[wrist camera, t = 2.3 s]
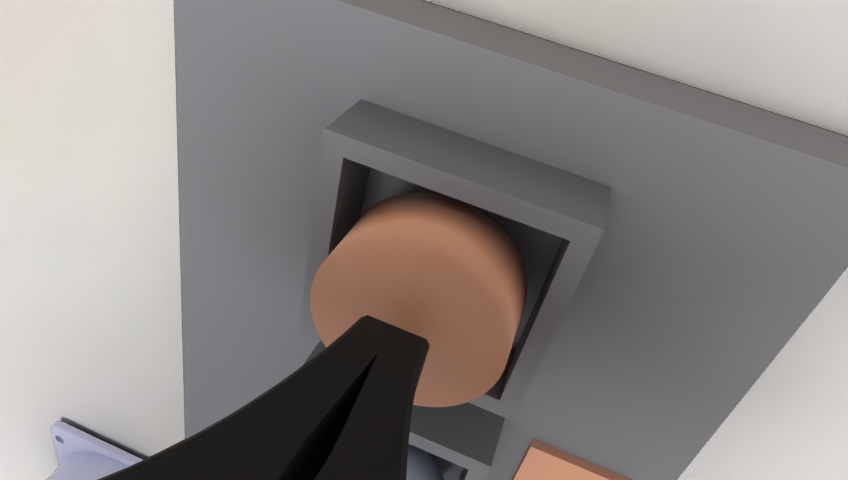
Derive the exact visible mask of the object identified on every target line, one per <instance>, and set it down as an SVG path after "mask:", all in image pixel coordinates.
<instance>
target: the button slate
mask: <svg viewBox="0 0 848 480" xmlns="http://www.w3.org/2000/svg"><path fill="white" fill-rule="evenodd" d="M406 480H444V478H443V475H442V473H441V471H440V469H439V467H438V465H437V464H436V462H435V461H434V460H433V458H432V457H431V456H430V455H429V454H428V453H427V452H426V451H424V450H422V449H420V448H417V447H415V446H413V445H410V444H408V456H407V476H406Z"/></svg>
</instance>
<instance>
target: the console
mask: <svg viewBox="0 0 848 480" xmlns="http://www.w3.org/2000/svg"><path fill="white" fill-rule="evenodd" d="M174 33H175V72H176V111H177V149H178V188H179V226H180V265H181V304H182V342H183V381H184V419H185V439H187V438H189V437H191V436H192V435H194V434H196V433H198V432H200V431H202V430H203V429H205V428H207V427H209V426H211V425H212V424H214V423H216V422H218V421H220V420H221V419H223V418H225V417H226V416H228V415H230V414H231V413H233V412H235V411H236V410H238V409H240V408H241V407H243V406H245V405H246V404H248V403H249V402H251V401H252V400H254V399H255V398H257V397H258V396H260V395H261V394H263V393H264V392H266V391H267V390H269V389H270V388H272V387H274V386H275V385H277V384H278V383H280V382H281V381H282V380H284V379H285V378H287V377H288V376H289V375H291V374H292V373H293V372H295V371H296V370H298V369H299V368H300V367H302V366H303V365H304V364H306V363H307V362H308V361H310V360H311V359H312V358H314V357H315V356H316V355H318V354H319V353H320V352H321V351H323V350H324V349H325V348H326V347H325V345H324V344H323V342H322V340H321V338H320V336H319V334H318V332H317V330H316V327H315V325H314V322H313V318H312V314H311V306H310V292H311V287H312V283H313V280H314V277H315V275H316V272H317V271H318V269H319V268H320V266H321V265H322V263H323V262H324V261H325V260H326V258H327V257H328V256H329V255H330V254H331V252H332V251H333V250H334V249H335V248H336V247H337V245H338V244H339V243H340V242H341V241H342V239H343V238H344V237H345V236H346V235H347V233H348V232H349V231H350V230H351V229H352V227H353V226H354V225H355V224H356V223H357V221H358V220H359V219H360V218H361V217H362V216H363V215H364V214H365V213H366V211H367V210H369V209H370V208H371V207H373V206H374V205H375V204H377V203H379V202H381V201H382V200H384V199H387V198H389V197H392V196H395V195H400V194H404V193H414V192H424V193H434V194H440V195H445V196H448V197H451V198H455V199H458V200H460V201H462V202H465V203H467V204H469V205H471V206H473V207H474V208H476V209H478V210H480V211H481V212H483V213H484V214H485V215H487V216H488V217H489V218H491V219H492V220H493V221H494V222H495V223H496V224H497V225H498V226H500V227H501V228H502V230H503V231H504V232H505V233H506V234H507V235H508V237H509V238H510V239H511V241H512V242H513V244H514V245H515V247H516V248H517V250H518V252H519V255H520V257H521V259H522V261H523V265H524V268H525V271H526V277H527V297H526V303H525V306H524V309H523V312H522V315H521V319H520V322H519V325H518V328H517V331H516V335H515V338H514V341H513V344H512V347H511V351H510V354H509V357H508V360H507V363H506V366H505V369H504V371H503V373H502V375H501V377H500V379H499V380H498V381H497V382H496V383H495V385H494V386H493V387H492V388H491V389H490V390H488V391H487V392H486V393H485V394H483V395H481V396H480V397H478V398H476V399H474V400H472V401H469V402H467V403H463V404H460V405H455V406H448V407H425V406H418V405H413V408H412V416H411V425H410V434H409V443H408V444H410V445H413V446H415V447H417V448H420V449H422V450H424V451H426V452H427V453H428V454H429V455H430V456H431V457H432V458H433V460H434V461H435V462H436V464H437V465H438V467H439V469H440V471H441V473H442V475H443V478H444V480H677V479H678V478H679V476H680V475H681V474H682V473H683V471H684V470H685V469H686V468H687V466H688V465H689V464H690V463H691V461H692V460H693V459H694V458H695V456H696V455H697V454H698V453H699V451H700V450H701V449H702V448H703V446H704V445H705V444H706V443H707V441H708V440H709V439H710V438H711V436H712V435H713V434H714V433H715V431H716V430H717V429H718V428H719V427H720V425H721V424H722V423H723V422H724V420H725V419H726V418H727V417H728V415H729V414H730V413H731V412H732V410H733V409H734V408H735V407H736V405H737V404H738V403H739V402H740V400H741V399H742V398H743V397H744V395H745V394H746V393H747V392H748V390H749V389H750V388H751V387H752V385H753V384H754V383H755V382H756V380H757V379H758V378H759V377H760V375H761V374H762V373H763V372H764V370H765V369H766V368H767V367H768V365H769V364H770V363H771V362H772V360H773V359H774V358H775V357H776V356H777V354H778V353H779V352H780V351H781V349H782V348H783V347H784V346H785V344H786V343H787V342H788V341H789V339H790V338H791V337H792V336H793V334H794V333H795V332H796V331H797V329H798V328H799V327H800V326H801V324H802V323H803V322H804V321H805V319H806V318H807V317H808V316H809V314H810V313H811V312H812V311H813V309H814V308H815V307H816V306H817V304H818V303H819V302H820V301H821V299H822V298H823V297H824V296H825V294H826V293H827V292H828V291H829V289H830V288H831V287H832V286H833V285H834V283H835V282H836V281H837V280H838V278H839V277H840V276H841V275H842V273H843V272H844V271H845V270H846V268H847V267H848V137H847V136H844V135H841V134H837V133H834V132H831V131H828V130H825V129H822V128H819V127H816V126H813V125H809V124H806V123H803V122H800V121H797V120H794V119H791V118H788V117H784V116H781V115H778V114H775V113H772V112H769V111H766V110H763V109H760V108H756V107H753V106H750V105H747V104H744V103H741V102H738V101H735V100H732V99H728V98H725V97H722V96H719V95H716V94H713V93H710V92H707V91H703V90H700V89H697V88H694V87H691V86H688V85H685V84H682V83H679V82H675V81H672V80H669V79H666V78H663V77H660V76H657V75H654V74H650V73H647V72H644V71H641V70H638V69H635V68H632V67H629V66H626V65H622V64H619V63H616V62H613V61H610V60H607V59H604V58H601V57H597V56H594V55H591V54H588V53H585V52H582V51H579V50H576V49H573V48H569V47H566V46H563V45H560V44H557V43H554V42H551V41H548V40H544V39H541V38H538V37H535V36H532V35H529V34H526V33H523V32H520V31H516V30H513V29H510V28H507V27H504V26H501V25H498V24H495V23H491V22H488V21H485V20H482V19H479V18H476V17H473V16H470V15H467V14H463V13H460V12H457V11H454V10H451V9H448V8H445V7H442V6H438V5H435V4H432V3H429V2H426V1H423V0H174Z"/></svg>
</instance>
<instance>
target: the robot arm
mask: <svg viewBox="0 0 848 480" xmlns="http://www.w3.org/2000/svg"><path fill="white" fill-rule="evenodd" d="M429 347H430V345H429V343H428V341H427V340H426V339H425V338H423V337H420V336H418V335H416V334H413V333H411V332H408V331H406V330H403V329H401V328H398V327H396V326H393V325H391V324H388V323H386V322H384V321H381V320H379V319H376V318H374V317H371V316H369V315H366V316H363V317H361V318H360V319H359V320H358V321H357V322H355V323H354V324H353V325H352V326H351V327H350V328H349V329H348V330H347V331H345V332H344V333H343V334H342V335H341V336H340V337H339V338H337V339H336V340H335V341H334V342H333V343H331V344H330V345H329V346H328V347H326V348H325V349H324V350H323V351H321V352H320V353H319V354H318V355H316V356H315V357H314V358H312V359H311V360H310V361H308V362H307V363H306V364H304V365H303V366H302V367H300V368H299V369H298V370H296V371H295V372H293V373H292V374H291V375H289V376H288V377H287V378H285V379H284V380H282V381H281V382H280V383H278V384H277V385H275V386H274V387H272V388H270V389H269V390H267V391H266V392H264V393H263V394H261V395H260V396H258V397H257V398H255V399H254V400H252V401H251V402H249V403H248V404H246V405H245V406H243V407H241V408H240V409H238V410H236V411H235V412H233V413H231V414H230V415H228V416H226V417H225V418H223V419H221V420H220V421H218V422H216V423H214V424H212V425H211V426H209V427H207V428H205V429H203V430H202V431H200V432H198V433H196V434H194V435H192V436H191V437H189V438H187V439H185V440H183V441H181V442H179V443H177V444H175V445H173V446H171V447H169V448H167V449H165V450H163V451H161V452H159V453H157V454H155V455H153V456H151V457H148V458H146V459H144V460H143V459H141V458H139V457H136V456H134V455H132V454H130V453H128V452H126V451H124V450H121V449H119V448H117V447H115V446H113V445H111V444H109V443H107V442H104V441H102V440H100V439H98V438H96V437H94V436H92V435H90V434H87V433H85V432H83V431H81V430H79V429H77V428H75V427H73V426H70V425H68V424H66V423H64V422H61V421H57V422H55V423H54V424H53V425H52V426H51V433H52V438H53V442H54V446H55V450H56V455H57V459H58V463H59V467H58V468H57V469H56V470H55V471H54V472H53V473H52V474H51V475H50V476H49V477H48V478H47V479H46V480H406V476H407V456H408V443H409V434H410V425H411V416H412V408H413V402H414V396H415V391H416V388H417V385H418V382H419V379H420V376H421V372H422V369H423V366H424V363H425V360H426V356H427V353H428V350H429Z"/></svg>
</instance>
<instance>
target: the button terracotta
mask: <svg viewBox="0 0 848 480" xmlns="http://www.w3.org/2000/svg"><path fill="white" fill-rule="evenodd" d="M526 297H527V277H526V271H525V268H524V265H523V261H522V259H521V257H520V255H519V252H518V250H517V248H516V247H515V245H514V244H513V242H512V241H511V239H510V238H509V237H508V235H507V234H506V233H505V232H504V231H503V230H502V228H501V227H500V226H498V225H497V224H496V223H495V222H494V221H493V220H492V219H491V218H489V217H488V216H487V215H485V214H484V213H483V212H481V211H480V210H478V209H476V208H474V207H473V206H471V205H469V204H467V203H465V202H462V201H460V200H458V199H455V198H451V197H448V196H445V195H440V194H434V193H424V192H414V193H404V194H400V195H395V196H392V197H389V198H387V199H384V200H382V201H381V202H379V203H377V204H375V205H374V206H373V207H371V208H370V209H369V210H367V211H366V213H365V214H364V215H363V216H362V217H361V218H360V219H359V220H358V221H357V223H356V224H355V225H354V226H353V227H352V229H351V230H350V231H349V232H348V233H347V235H346V236H345V237H344V238H343V239H342V241H341V242H340V243H339V244H338V245H337V247H336V248H335V249H334V250H333V251H332V252H331V254H330V255H329V256H328V257H327V258H326V260H325V261H324V262H323V263H322V265H321V266H320V268H319V269H318V271H317V272H316V275H315V277H314V280H313V283H312V287H311V292H310V306H311V314H312V318H313V322H314V325H315V327H316V330H317V332H318V334H319V336H320V338H321V340H322V342H323V344H324V345H325V347H328V346H329V345H330V344H331V343H333V342H334V341H335V340H336V339H337V338H339V337H340V336H341V335H342V334H343V333H344V332H345V331H347V330H348V329H349V328H350V327H351V326H352V325H353V324H354V323H355V322H357V321H358V320H359V319H360V318H361V317H363V316H366V315H369V316H371V317H374V318H376V319H379V320H381V321H384V322H386V323H388V324H391V325H393V326H396V327H398V328H401V329H403V330H406V331H408V332H411V333H413V334H416V335H418V336H420V337H423V338H425V339H426V340H427V341H428V343H429V345H430V347H429V350H428V353H427V356H426V360H425V363H424V366H423V369H422V372H421V376H420V379H419V382H418V385H417V388H416V391H415V396H414V402H413V405H418V406H425V407H448V406H455V405H460V404H463V403H467V402H469V401H472V400H474V399H476V398H478V397H480V396H481V395H483V394H485V393H486V392H487V391H488V390H490V389H491V388H492V387H493V386H494V385H495V383H496V382H497V381H498V380H499V379H500V377H501V375H502V373H503V371H504V369H505V366H506V363H507V360H508V357H509V354H510V351H511V347H512V344H513V341H514V338H515V335H516V331H517V328H518V325H519V322H520V319H521V315H522V312H523V309H524V306H525V303H526Z"/></svg>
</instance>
